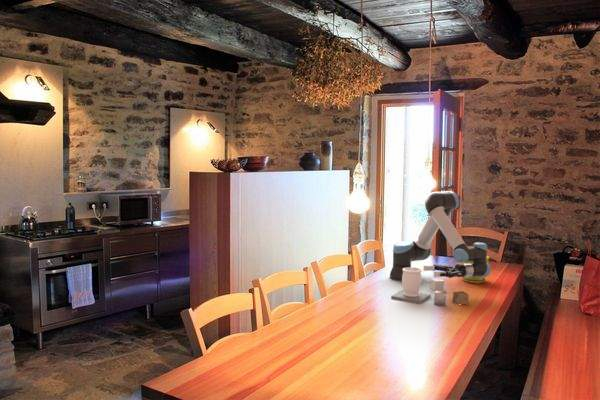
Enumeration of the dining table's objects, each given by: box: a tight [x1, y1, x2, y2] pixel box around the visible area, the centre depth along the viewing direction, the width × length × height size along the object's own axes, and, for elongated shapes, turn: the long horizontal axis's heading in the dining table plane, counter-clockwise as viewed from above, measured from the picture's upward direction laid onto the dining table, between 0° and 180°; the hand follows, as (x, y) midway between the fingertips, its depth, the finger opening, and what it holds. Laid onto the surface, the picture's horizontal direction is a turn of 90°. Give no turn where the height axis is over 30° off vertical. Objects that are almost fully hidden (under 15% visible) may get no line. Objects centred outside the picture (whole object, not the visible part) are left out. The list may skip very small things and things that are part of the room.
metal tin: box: [433, 290, 447, 307], centre depth 273 cm, size 6×6×7 cm
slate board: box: [390, 289, 432, 305], centre depth 285 cm, size 16×17×2 cm
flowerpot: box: [459, 255, 490, 284], centre depth 324 cm, size 18×18×16 cm
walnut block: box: [452, 290, 470, 306], centre depth 276 cm, size 6×6×6 cm
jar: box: [401, 266, 423, 297], centre depth 285 cm, size 11×10×15 cm
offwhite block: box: [429, 277, 445, 292], centre depth 303 cm, size 6×6×6 cm
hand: (428, 271), depth 285 cm, fingers open, 13 cm apart
